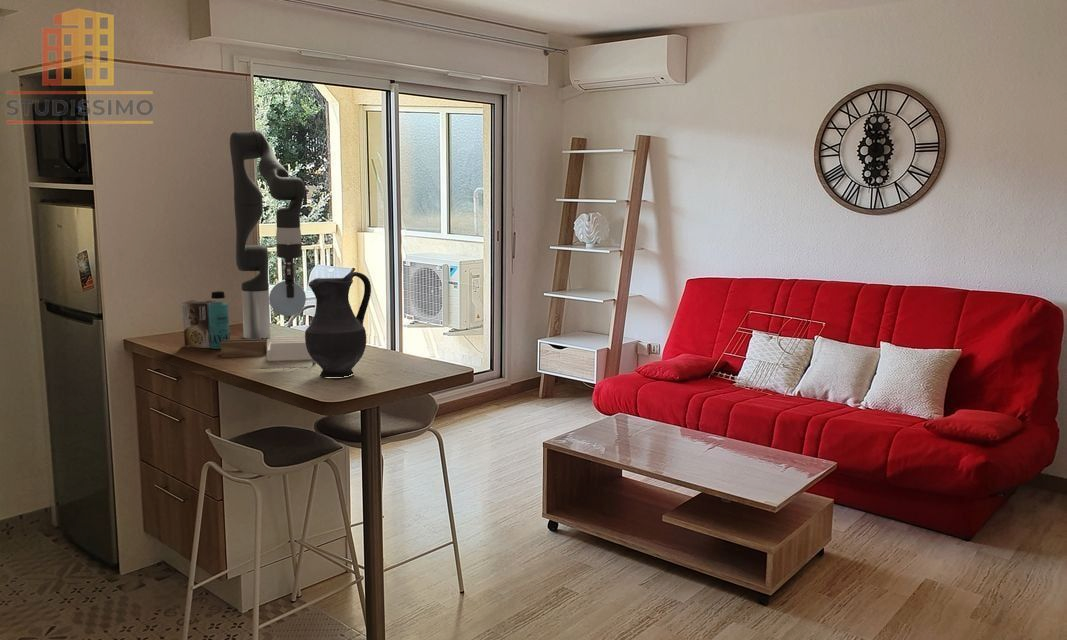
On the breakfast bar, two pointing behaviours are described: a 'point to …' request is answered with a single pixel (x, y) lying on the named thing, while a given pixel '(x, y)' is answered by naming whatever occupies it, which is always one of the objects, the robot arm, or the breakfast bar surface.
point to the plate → (287, 299)
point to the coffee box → (196, 323)
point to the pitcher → (337, 326)
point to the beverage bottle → (218, 321)
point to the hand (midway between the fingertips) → (290, 297)
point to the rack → (288, 349)
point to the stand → (244, 347)
